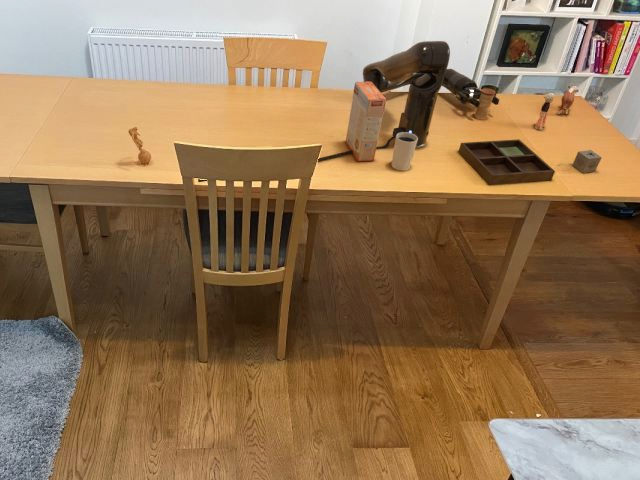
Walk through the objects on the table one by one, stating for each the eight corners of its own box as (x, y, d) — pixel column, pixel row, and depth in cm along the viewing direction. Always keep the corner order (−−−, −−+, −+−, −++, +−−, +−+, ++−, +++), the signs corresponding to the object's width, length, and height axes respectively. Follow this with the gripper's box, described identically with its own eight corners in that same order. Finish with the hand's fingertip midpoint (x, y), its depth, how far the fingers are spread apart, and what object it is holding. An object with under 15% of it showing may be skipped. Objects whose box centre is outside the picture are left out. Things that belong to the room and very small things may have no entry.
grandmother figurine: (545, 132, 210) (559, 97, 201) (534, 130, 210) (547, 96, 202) (542, 122, 215) (555, 89, 207) (531, 121, 216) (544, 88, 207)
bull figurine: (572, 106, 228) (581, 85, 223) (566, 118, 219) (574, 97, 214) (561, 103, 230) (569, 82, 224) (554, 115, 221) (562, 94, 216)
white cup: (395, 158, 190) (401, 130, 184) (414, 165, 187) (421, 136, 181) (386, 166, 186) (392, 137, 179) (405, 173, 183) (412, 144, 177)
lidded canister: (477, 120, 215) (485, 94, 208) (471, 114, 218) (478, 88, 212) (489, 119, 216) (498, 93, 209) (483, 114, 219) (491, 87, 213)
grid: (489, 185, 180) (492, 175, 178) (458, 151, 196) (460, 142, 193) (551, 180, 183) (555, 171, 181) (516, 148, 199) (519, 139, 197)
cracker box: (375, 161, 188) (387, 98, 175) (357, 162, 187) (367, 99, 174) (362, 141, 199) (372, 80, 185) (345, 141, 198) (354, 80, 184)
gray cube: (595, 171, 189) (601, 157, 186) (582, 172, 188) (588, 159, 185) (584, 163, 193) (590, 149, 189) (572, 165, 191) (578, 151, 188)
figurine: (151, 169, 179) (148, 132, 171) (131, 169, 178) (127, 133, 170) (151, 156, 185) (148, 120, 177) (132, 156, 184) (128, 120, 177)
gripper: (474, 93, 228) (501, 111, 216) (443, 98, 223) (469, 115, 212) (479, 74, 223) (507, 91, 211) (448, 78, 218) (475, 95, 207)
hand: (488, 103), depth 212 cm, fingers open, 8 cm apart
